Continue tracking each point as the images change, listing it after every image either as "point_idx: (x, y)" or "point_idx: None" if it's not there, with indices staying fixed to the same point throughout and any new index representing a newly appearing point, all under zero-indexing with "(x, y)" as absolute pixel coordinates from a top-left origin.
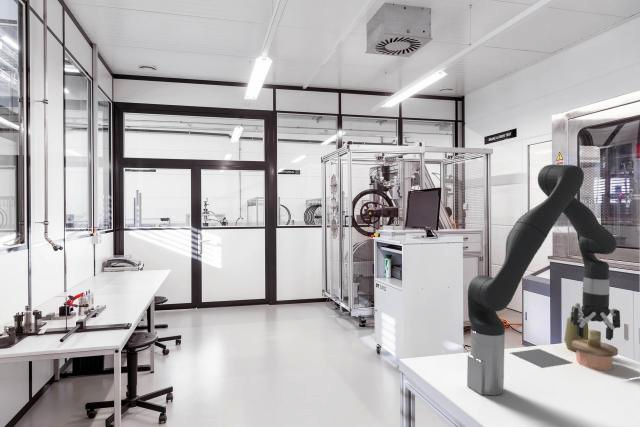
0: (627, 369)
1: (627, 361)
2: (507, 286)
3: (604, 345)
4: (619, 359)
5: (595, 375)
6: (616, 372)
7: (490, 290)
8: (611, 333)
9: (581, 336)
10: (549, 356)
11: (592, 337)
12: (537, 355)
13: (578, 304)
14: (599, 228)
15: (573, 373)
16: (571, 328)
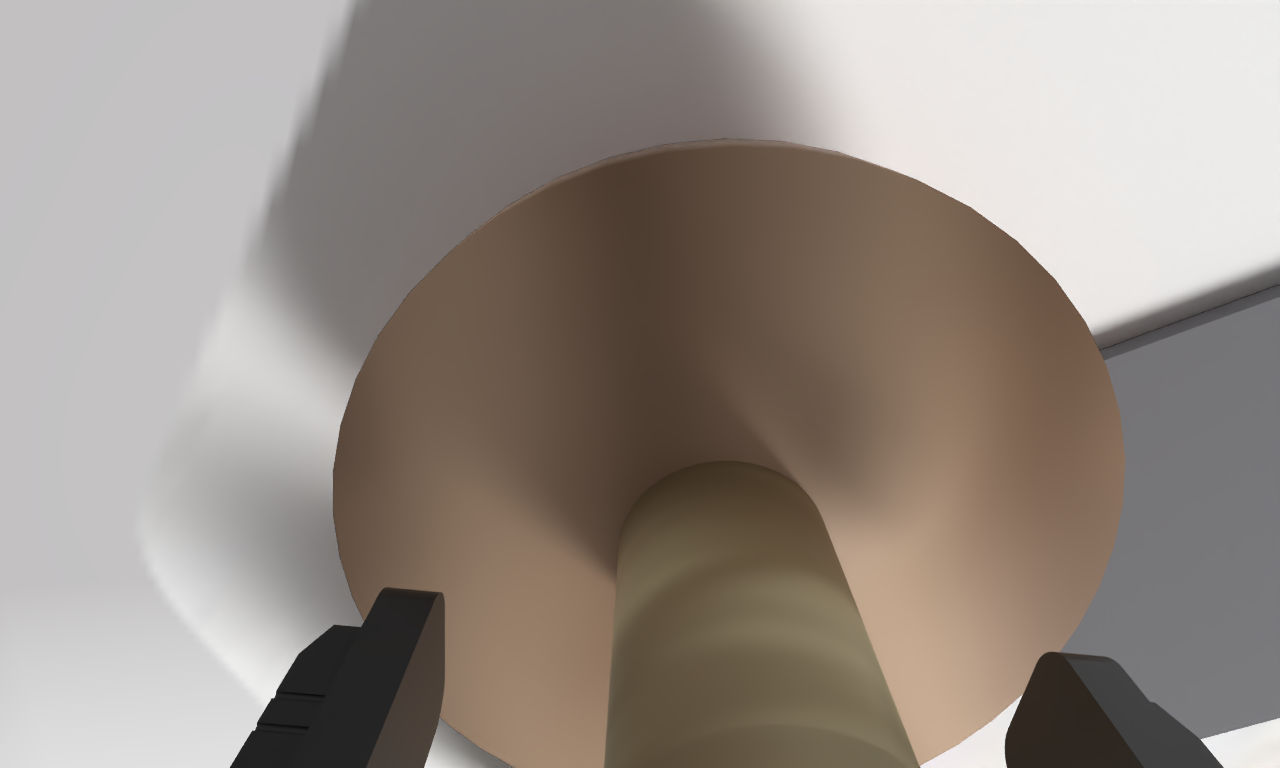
0: (313, 302)
1: (196, 552)
2: None
3: (496, 595)
4: (265, 598)
5: (917, 11)
6: (523, 174)
7: None
8: (307, 731)
9: (1122, 680)
10: (1129, 578)
11: (864, 637)
12: (1263, 595)
13: None
14: None
15: (1212, 56)
16: None
